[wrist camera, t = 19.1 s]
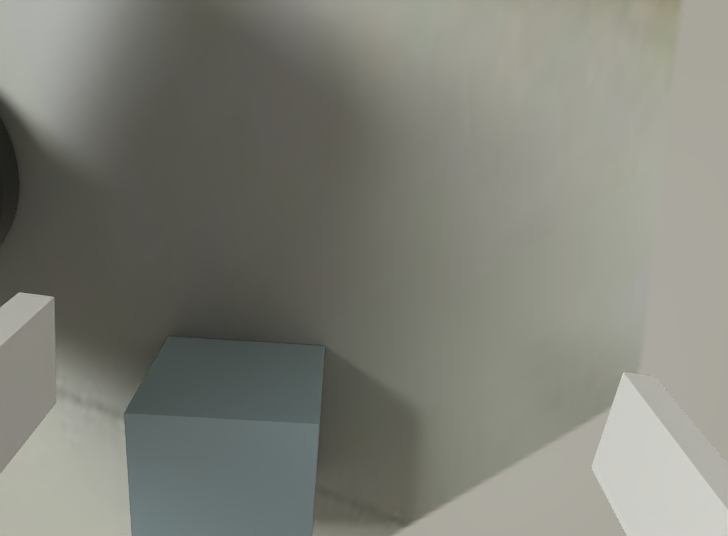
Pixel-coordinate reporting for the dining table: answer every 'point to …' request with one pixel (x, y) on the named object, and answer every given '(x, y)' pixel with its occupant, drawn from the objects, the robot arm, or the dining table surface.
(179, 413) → the grey-blue flat-faced block
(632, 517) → the robot arm
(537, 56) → the dining table surface
